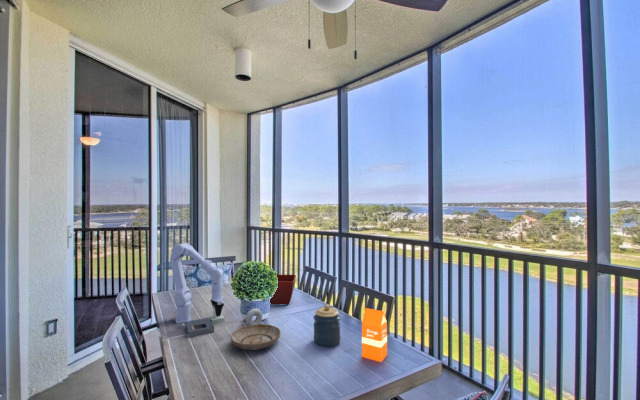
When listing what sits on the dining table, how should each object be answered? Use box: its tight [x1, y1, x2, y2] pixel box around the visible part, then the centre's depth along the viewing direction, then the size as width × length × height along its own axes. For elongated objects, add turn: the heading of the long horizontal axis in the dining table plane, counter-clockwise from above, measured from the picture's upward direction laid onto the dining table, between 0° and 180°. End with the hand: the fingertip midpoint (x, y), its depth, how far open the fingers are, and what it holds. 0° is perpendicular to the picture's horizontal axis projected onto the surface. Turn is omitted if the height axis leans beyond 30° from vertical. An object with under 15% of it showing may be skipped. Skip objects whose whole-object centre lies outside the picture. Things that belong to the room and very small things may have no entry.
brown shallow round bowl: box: [230, 323, 281, 351], centre depth 143 cm, size 23×24×5 cm
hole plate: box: [184, 317, 215, 338], centre depth 159 cm, size 16×12×3 cm
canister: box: [313, 304, 341, 348], centre depth 144 cm, size 13×13×18 cm
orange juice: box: [361, 307, 388, 363], centre depth 131 cm, size 8×9×20 cm
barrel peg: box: [212, 305, 221, 318], centre depth 171 cm, size 4×4×7 cm
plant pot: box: [269, 274, 297, 305], centre depth 204 cm, size 19×19×17 cm
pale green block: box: [208, 313, 225, 325], centre depth 171 cm, size 7×7×2 cm
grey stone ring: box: [245, 308, 263, 326], centre depth 162 cm, size 10×4×10 cm, turn 135°
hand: (216, 313), depth 171 cm, fingers open, 7 cm apart
